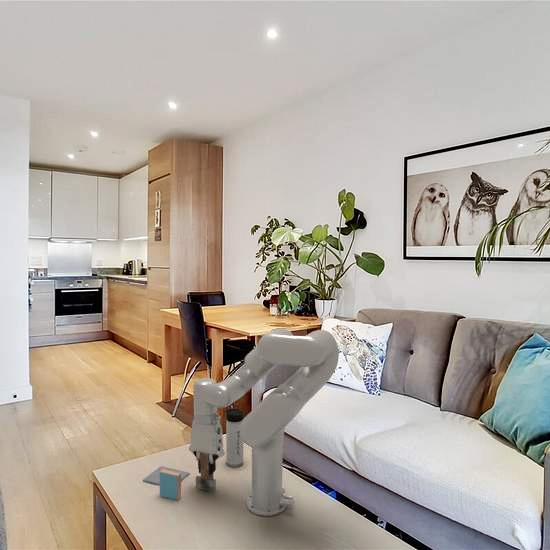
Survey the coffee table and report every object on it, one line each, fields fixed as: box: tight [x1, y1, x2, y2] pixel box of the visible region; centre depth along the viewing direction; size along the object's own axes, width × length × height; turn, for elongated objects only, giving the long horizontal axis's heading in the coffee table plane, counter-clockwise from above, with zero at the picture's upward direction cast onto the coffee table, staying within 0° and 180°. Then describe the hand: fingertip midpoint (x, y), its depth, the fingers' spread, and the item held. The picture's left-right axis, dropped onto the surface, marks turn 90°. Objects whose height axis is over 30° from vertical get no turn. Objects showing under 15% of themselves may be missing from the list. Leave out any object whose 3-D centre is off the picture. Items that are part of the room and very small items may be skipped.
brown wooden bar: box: [195, 452, 217, 492], centre depth 140 cm, size 7×3×14 cm, turn 68°
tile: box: [159, 469, 182, 501], centre depth 136 cm, size 7×2×8 cm, turn 68°
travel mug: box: [225, 408, 244, 468], centre depth 157 cm, size 6×7×20 cm
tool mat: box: [142, 465, 190, 486], centre depth 147 cm, size 12×10×1 cm
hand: (207, 471), depth 140 cm, fingers closed on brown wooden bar, 3 cm apart
